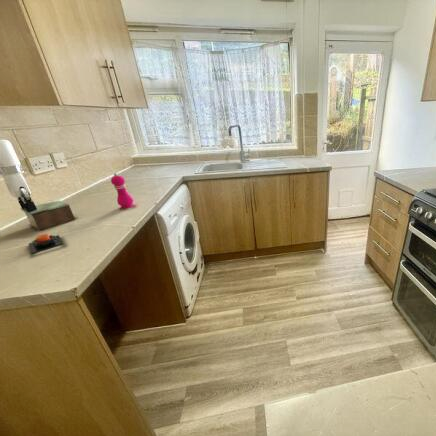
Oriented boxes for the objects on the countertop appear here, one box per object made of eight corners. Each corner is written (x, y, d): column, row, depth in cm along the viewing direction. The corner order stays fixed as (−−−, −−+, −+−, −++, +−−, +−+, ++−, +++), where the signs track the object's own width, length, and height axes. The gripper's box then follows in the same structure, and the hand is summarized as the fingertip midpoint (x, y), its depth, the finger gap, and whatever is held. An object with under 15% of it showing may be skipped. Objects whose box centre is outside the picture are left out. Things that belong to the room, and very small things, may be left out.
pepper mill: (121, 207, 136) (108, 172, 127) (136, 205, 138) (124, 170, 130) (119, 212, 130) (105, 175, 121) (134, 209, 132) (122, 173, 124)
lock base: (65, 248, 95) (61, 239, 94) (33, 258, 89) (28, 248, 87) (60, 239, 102) (56, 231, 100) (31, 248, 96) (26, 239, 94)
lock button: (51, 239, 94) (49, 235, 93) (38, 243, 92) (36, 239, 91) (49, 237, 96) (47, 233, 96) (37, 240, 94) (35, 236, 93)
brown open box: (39, 230, 110) (32, 215, 107) (31, 225, 116) (23, 210, 113) (75, 220, 121) (69, 205, 118) (66, 215, 126) (60, 201, 123)
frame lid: (29, 214, 106) (23, 202, 104) (20, 210, 112) (15, 198, 110) (69, 205, 118) (65, 194, 116) (60, 201, 123) (56, 190, 121)
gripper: (-8, 170, 104) (12, 208, 112) (3, 174, 96) (24, 215, 103) (16, 166, 110) (34, 203, 118) (29, 170, 102) (47, 210, 109)
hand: (29, 209), depth 110 cm, fingers open, 6 cm apart
